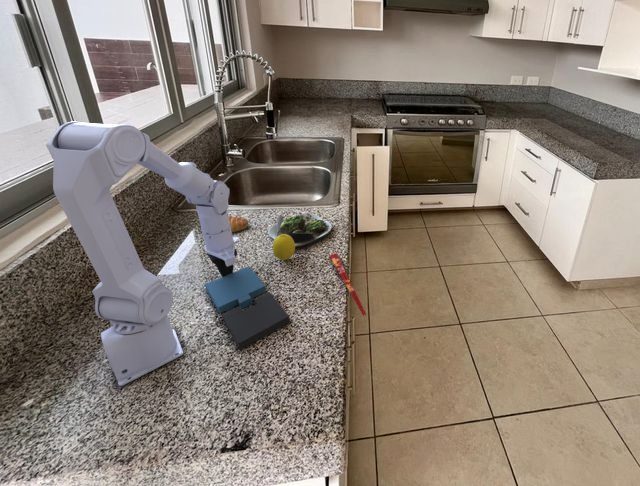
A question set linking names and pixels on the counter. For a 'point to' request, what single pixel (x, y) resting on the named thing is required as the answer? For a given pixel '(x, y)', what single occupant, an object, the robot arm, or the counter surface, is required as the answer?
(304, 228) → the salad plate
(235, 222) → the pastry
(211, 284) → the blue pad
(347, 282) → the chopstick
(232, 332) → the charcoal pad
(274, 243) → the lemon
